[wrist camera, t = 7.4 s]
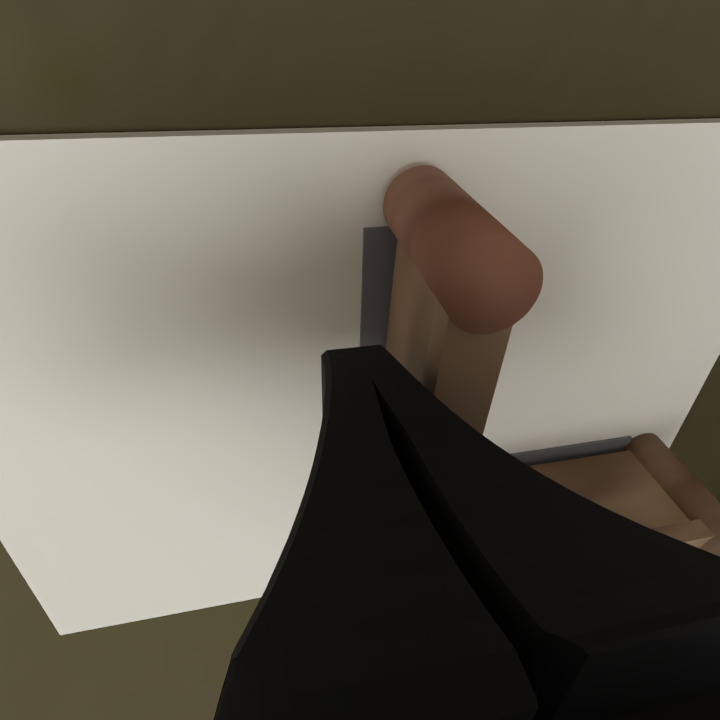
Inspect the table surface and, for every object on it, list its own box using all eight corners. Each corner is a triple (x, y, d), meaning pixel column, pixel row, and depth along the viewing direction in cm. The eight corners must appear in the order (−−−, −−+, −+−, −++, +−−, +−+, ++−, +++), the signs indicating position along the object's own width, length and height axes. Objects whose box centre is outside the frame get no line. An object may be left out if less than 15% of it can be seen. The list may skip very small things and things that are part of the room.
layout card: (829, 115, 13) (848, 120, 13) (620, 520, 22) (628, 530, 22) (-232, 140, 9) (-253, 148, 8) (62, 623, 18) (59, 638, 18)
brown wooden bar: (409, 466, 16) (454, 581, 13) (359, 472, 16) (393, 592, 13) (460, 165, 11) (555, 241, 8) (386, 164, 11) (454, 245, 8)
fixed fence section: (667, 426, 18) (782, 543, 15) (647, 465, 20) (749, 582, 16) (349, 474, 16) (389, 625, 13) (348, 514, 18) (384, 663, 14)
